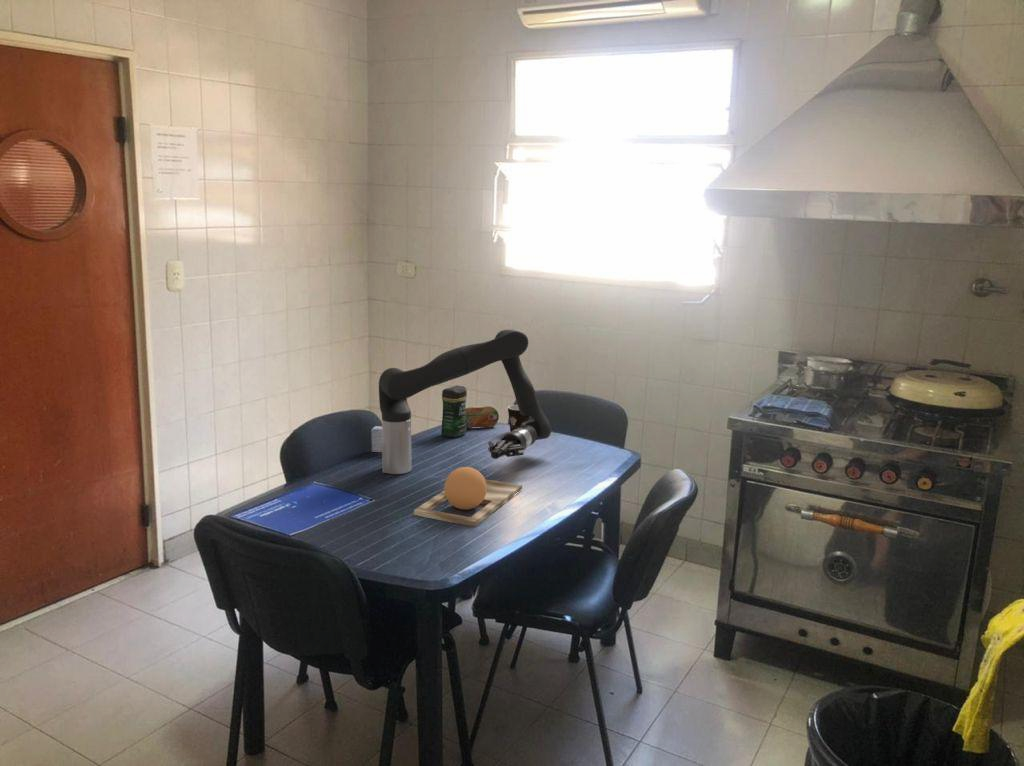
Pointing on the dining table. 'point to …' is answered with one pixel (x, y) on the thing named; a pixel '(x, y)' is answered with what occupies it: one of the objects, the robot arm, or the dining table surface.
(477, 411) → the tin
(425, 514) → the board
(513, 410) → the coffee mug
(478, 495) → the ball
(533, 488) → the dining table surface
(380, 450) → the medicine box
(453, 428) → the coffee jar
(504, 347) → the robot arm
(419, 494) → the dining table surface
